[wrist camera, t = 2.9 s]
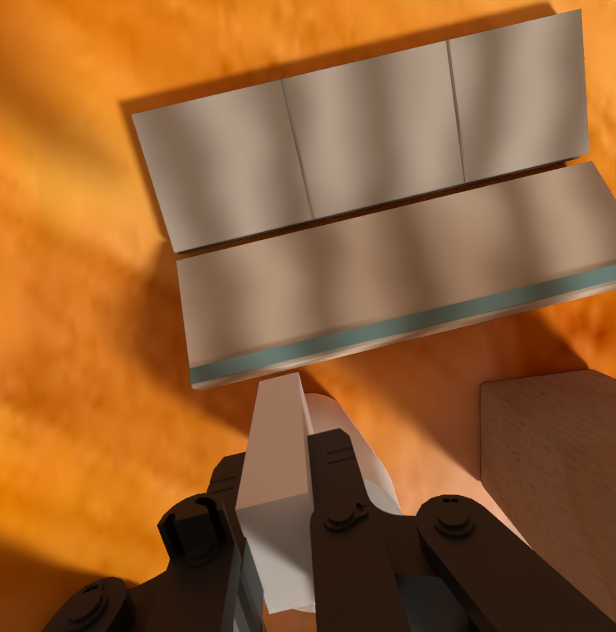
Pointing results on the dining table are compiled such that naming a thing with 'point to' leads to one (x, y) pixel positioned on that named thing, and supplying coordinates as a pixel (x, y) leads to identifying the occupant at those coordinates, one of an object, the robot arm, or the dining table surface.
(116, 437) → the dining table surface
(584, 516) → the wooden block
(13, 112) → the dining table surface
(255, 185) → the laid row
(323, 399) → the cup
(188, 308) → the plank
